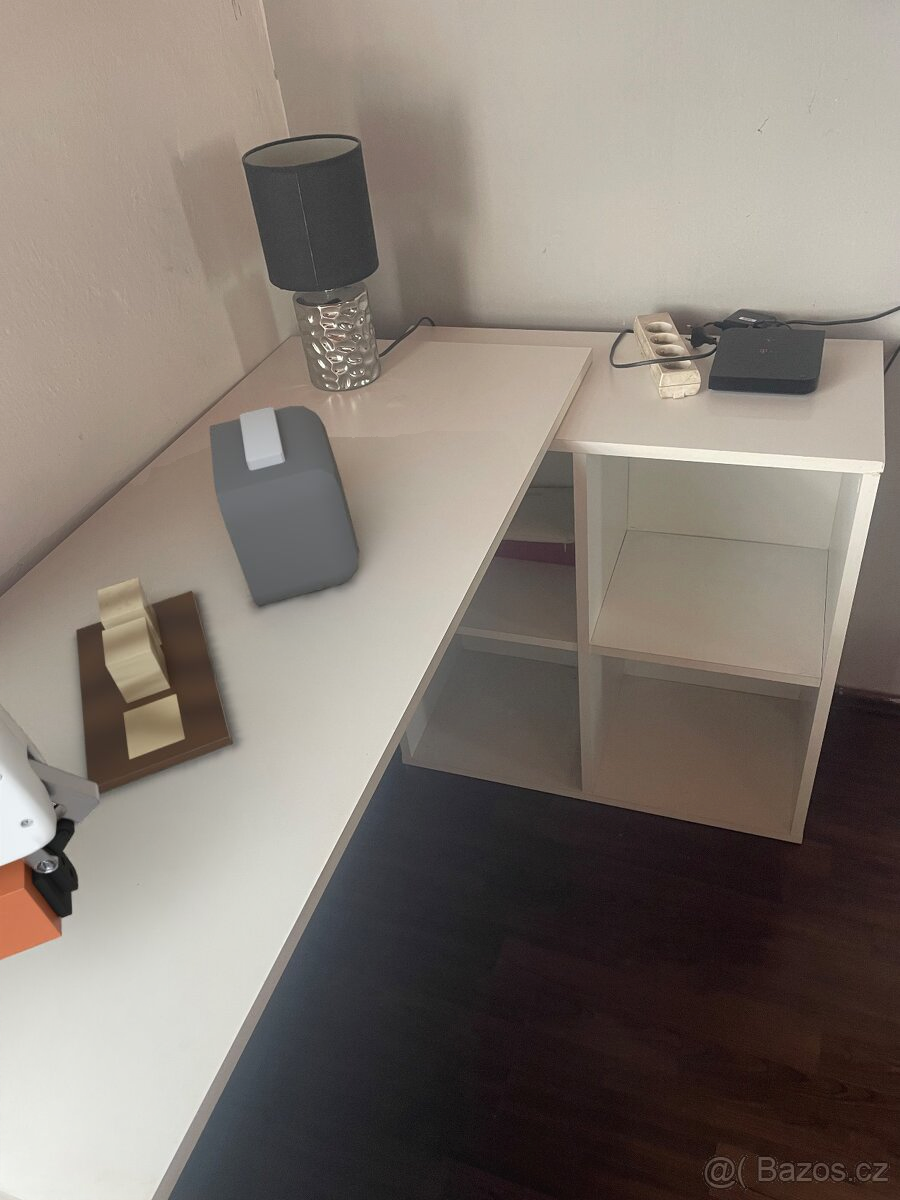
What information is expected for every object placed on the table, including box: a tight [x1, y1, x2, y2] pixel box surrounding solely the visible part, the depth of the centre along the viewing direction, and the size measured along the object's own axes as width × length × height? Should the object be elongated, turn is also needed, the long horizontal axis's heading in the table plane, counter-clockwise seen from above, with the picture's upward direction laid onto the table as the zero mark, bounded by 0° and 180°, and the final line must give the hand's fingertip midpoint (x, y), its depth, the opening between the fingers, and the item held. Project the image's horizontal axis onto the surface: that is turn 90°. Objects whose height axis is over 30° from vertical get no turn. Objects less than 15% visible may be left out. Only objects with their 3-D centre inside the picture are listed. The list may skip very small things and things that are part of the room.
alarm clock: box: [209, 405, 360, 607], centre depth 88 cm, size 16×11×16 cm
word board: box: [75, 590, 233, 795], centre depth 81 cm, size 22×12×1 cm, turn 21°
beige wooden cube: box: [96, 576, 162, 645], centre depth 84 cm, size 5×4×5 cm
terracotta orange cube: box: [0, 859, 63, 961], centre depth 49 cm, size 5×4×5 cm
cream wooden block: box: [102, 617, 170, 703], centre depth 79 cm, size 5×4×5 cm
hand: (23, 910), depth 50 cm, fingers closed on terracotta orange cube, 4 cm apart
